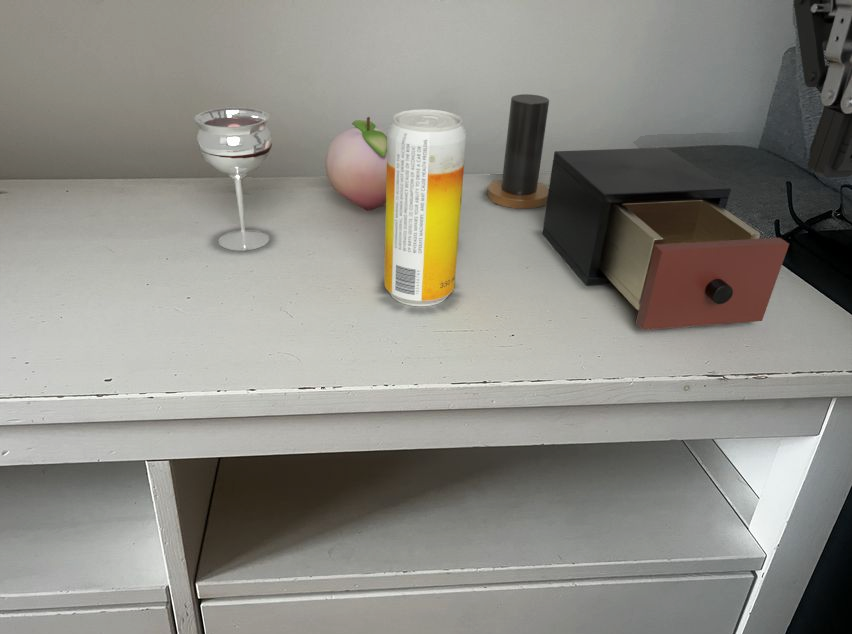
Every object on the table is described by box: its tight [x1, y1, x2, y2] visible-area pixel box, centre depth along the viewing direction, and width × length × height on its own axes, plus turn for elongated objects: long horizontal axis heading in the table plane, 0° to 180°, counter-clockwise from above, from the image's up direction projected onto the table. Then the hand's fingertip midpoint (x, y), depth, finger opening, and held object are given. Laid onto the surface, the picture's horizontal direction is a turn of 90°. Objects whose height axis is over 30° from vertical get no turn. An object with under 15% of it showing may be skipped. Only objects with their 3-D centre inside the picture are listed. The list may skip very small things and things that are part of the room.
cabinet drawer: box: [598, 198, 790, 331], centre depth 59 cm, size 12×10×7 cm
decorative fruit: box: [324, 116, 387, 211], centre depth 76 cm, size 9×8×10 cm
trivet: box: [486, 178, 549, 210], centre depth 82 cm, size 7×7×1 cm
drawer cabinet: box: [542, 147, 732, 287], centre depth 68 cm, size 12×12×9 cm
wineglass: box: [194, 106, 273, 252], centre depth 68 cm, size 7×7×12 cm
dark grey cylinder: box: [501, 93, 550, 195], centre depth 79 cm, size 4×4×10 cm
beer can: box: [383, 108, 467, 307], centre depth 59 cm, size 6×6×15 cm
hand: (830, 173), depth 43 cm, fingers closed
